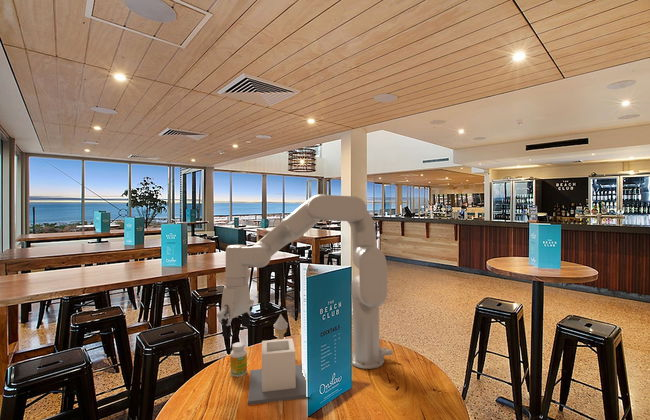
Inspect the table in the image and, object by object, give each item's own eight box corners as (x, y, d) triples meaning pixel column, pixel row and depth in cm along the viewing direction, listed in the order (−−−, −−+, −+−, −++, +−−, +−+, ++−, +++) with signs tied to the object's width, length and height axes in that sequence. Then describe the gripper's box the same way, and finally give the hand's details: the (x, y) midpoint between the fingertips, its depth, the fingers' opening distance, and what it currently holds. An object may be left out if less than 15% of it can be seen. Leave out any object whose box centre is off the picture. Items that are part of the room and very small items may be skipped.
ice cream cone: (289, 354, 122) (288, 315, 122) (274, 355, 121) (274, 316, 121) (287, 347, 128) (287, 310, 128) (273, 349, 127) (272, 311, 126)
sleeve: (292, 371, 107) (292, 338, 107) (295, 387, 97) (295, 351, 97) (262, 374, 105) (262, 340, 105) (262, 391, 96) (261, 354, 96)
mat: (303, 367, 112) (303, 364, 112) (310, 397, 94) (310, 393, 94) (250, 373, 109) (250, 370, 109) (247, 404, 91) (247, 401, 91)
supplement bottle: (237, 378, 105) (236, 349, 105) (227, 373, 108) (226, 345, 108) (250, 371, 109) (249, 343, 109) (240, 367, 113) (239, 339, 113)
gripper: (244, 275, 118) (244, 321, 118) (209, 285, 102) (209, 339, 102) (261, 277, 115) (260, 325, 115) (228, 288, 99) (227, 343, 99)
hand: (236, 331), depth 109 cm, fingers open, 9 cm apart
